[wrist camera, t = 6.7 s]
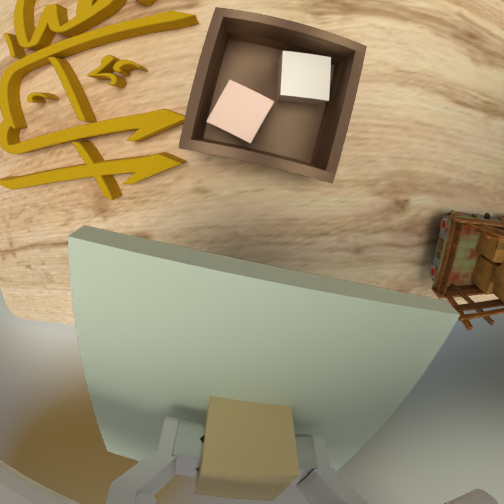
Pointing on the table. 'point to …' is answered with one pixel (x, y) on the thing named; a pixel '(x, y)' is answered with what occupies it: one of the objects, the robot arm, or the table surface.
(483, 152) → the table surface
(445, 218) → the toy truck
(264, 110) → the peach cube
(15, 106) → the decorative art
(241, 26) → the walnut box
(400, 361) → the lid
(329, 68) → the cream cube
